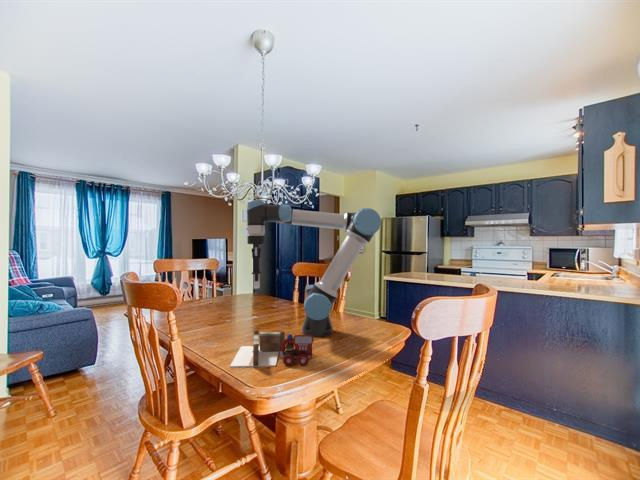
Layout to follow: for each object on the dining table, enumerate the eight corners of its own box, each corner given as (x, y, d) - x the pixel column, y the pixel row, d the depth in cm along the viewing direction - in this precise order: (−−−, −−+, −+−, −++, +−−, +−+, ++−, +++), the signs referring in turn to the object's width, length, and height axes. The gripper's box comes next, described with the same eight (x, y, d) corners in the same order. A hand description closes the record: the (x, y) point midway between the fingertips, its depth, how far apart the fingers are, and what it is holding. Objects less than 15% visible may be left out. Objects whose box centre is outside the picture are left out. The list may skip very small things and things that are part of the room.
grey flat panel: (253, 352, 112) (253, 333, 113) (258, 351, 113) (258, 333, 113) (253, 366, 100) (253, 345, 100) (258, 365, 100) (258, 345, 100)
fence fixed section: (284, 351, 116) (284, 328, 116) (284, 352, 114) (284, 330, 114) (253, 351, 115) (253, 329, 115) (252, 353, 113) (253, 330, 113)
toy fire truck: (281, 358, 109) (281, 330, 109) (314, 359, 108) (314, 331, 109) (277, 366, 102) (278, 336, 102) (312, 367, 102) (312, 337, 102)
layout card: (279, 346, 121) (279, 345, 121) (275, 366, 102) (275, 364, 102) (241, 347, 120) (241, 346, 120) (229, 367, 101) (229, 365, 101)
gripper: (248, 235, 133) (248, 286, 133) (246, 235, 121) (247, 291, 121) (264, 235, 135) (265, 285, 135) (264, 234, 122) (265, 290, 122)
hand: (256, 288), depth 128 cm, fingers closed
